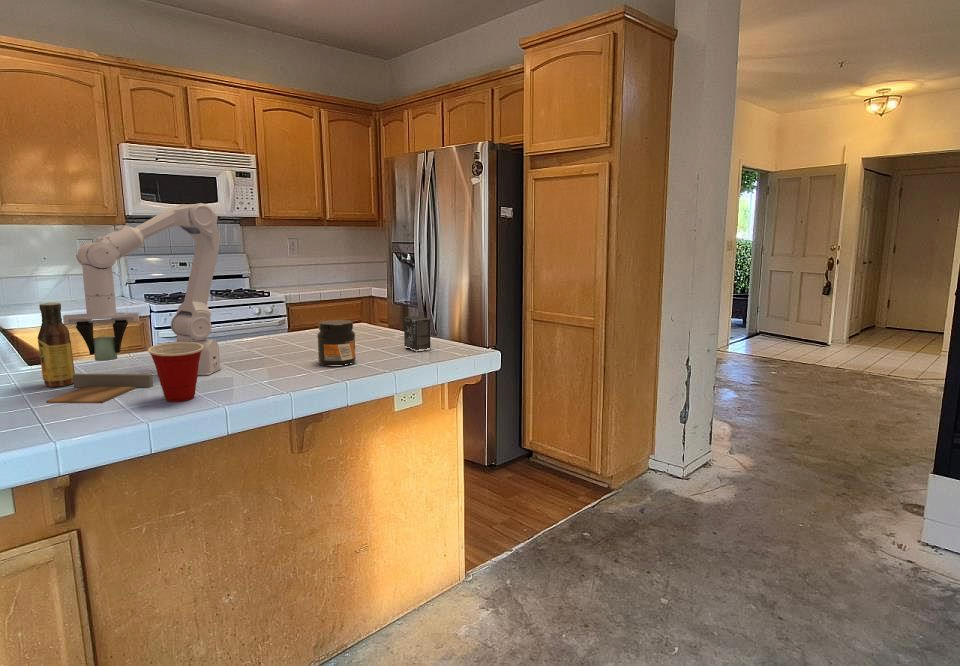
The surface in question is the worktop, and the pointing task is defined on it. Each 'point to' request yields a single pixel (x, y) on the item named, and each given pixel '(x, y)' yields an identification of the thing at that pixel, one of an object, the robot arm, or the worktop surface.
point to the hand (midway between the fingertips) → (105, 353)
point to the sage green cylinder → (104, 348)
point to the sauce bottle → (55, 347)
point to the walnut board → (90, 395)
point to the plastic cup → (177, 368)
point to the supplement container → (336, 342)
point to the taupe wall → (113, 380)
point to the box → (417, 332)
